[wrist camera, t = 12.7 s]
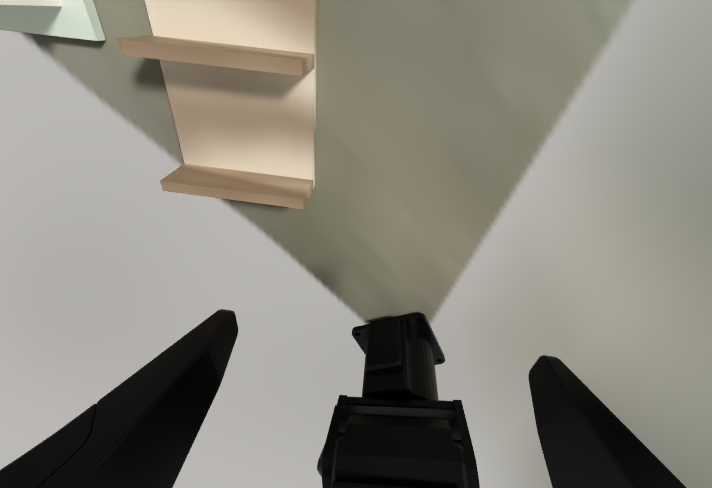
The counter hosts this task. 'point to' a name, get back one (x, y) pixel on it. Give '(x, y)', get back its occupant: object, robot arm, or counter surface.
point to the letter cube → (31, 2)
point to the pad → (54, 20)
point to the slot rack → (238, 95)
